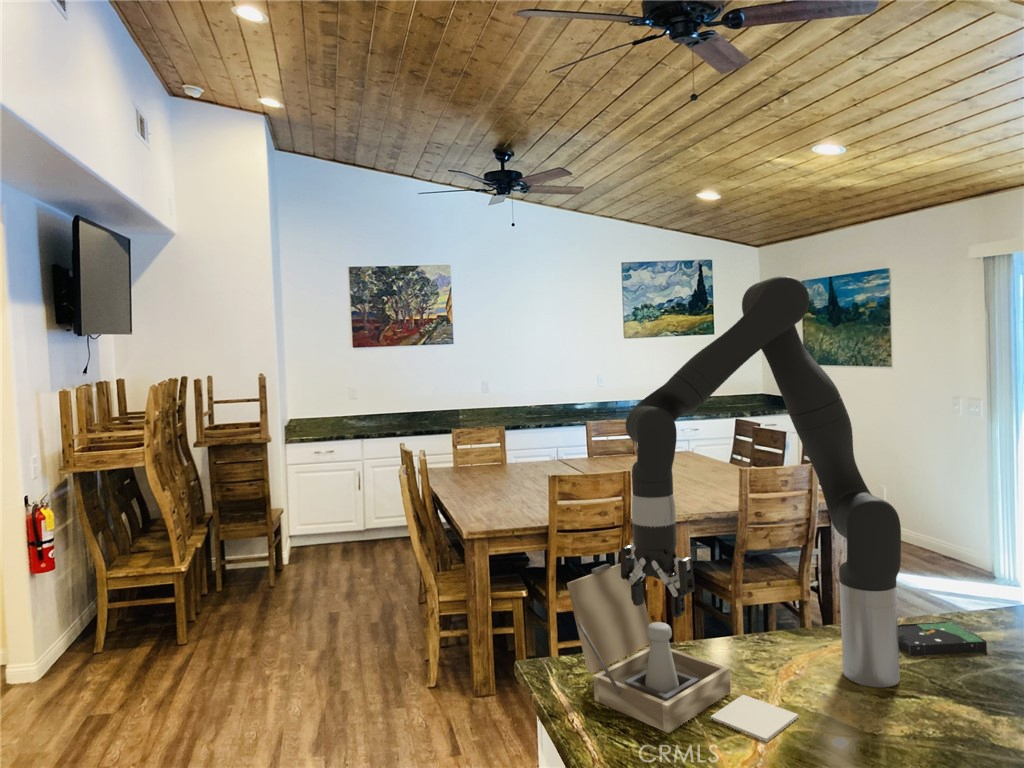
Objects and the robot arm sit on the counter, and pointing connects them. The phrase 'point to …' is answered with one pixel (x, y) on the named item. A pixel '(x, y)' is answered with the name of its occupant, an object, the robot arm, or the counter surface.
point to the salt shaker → (660, 659)
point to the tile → (755, 717)
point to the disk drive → (938, 639)
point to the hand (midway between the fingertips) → (657, 610)
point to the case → (650, 706)
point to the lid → (608, 616)
